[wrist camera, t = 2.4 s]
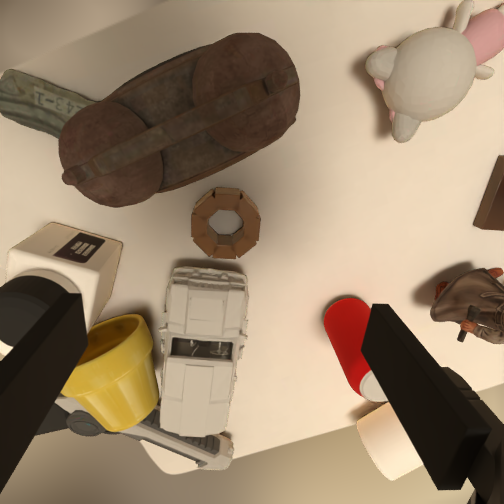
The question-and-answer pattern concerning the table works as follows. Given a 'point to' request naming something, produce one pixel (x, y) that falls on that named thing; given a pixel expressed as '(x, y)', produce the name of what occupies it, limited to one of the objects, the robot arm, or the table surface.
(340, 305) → the beverage can
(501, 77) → the table surface
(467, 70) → the toy
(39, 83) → the stone
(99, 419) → the flower pot
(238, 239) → the ring
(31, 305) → the container
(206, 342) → the toy car
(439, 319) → the figurine
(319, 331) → the table surface
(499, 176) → the peg stand
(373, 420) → the mug
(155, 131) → the alarm clock
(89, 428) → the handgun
